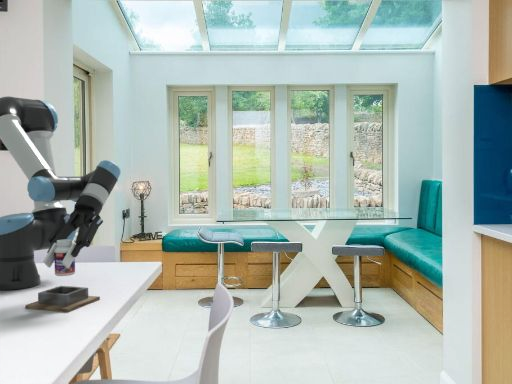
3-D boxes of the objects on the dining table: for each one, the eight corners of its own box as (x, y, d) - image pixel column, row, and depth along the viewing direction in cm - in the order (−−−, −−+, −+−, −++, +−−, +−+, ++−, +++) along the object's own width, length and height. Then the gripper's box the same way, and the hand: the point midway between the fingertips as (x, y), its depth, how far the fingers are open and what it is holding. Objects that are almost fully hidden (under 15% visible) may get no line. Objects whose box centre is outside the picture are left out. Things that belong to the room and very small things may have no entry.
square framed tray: (25, 308, 136) (25, 294, 136) (59, 296, 150) (59, 283, 150) (68, 312, 132) (68, 298, 132) (99, 299, 146) (99, 286, 145)
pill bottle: (53, 277, 137) (52, 241, 137) (56, 273, 142) (55, 239, 142) (74, 275, 138) (73, 240, 138) (76, 272, 144) (75, 238, 143)
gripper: (122, 210, 152) (90, 274, 136) (71, 209, 157) (35, 271, 142) (112, 193, 146) (77, 258, 131) (59, 193, 152) (21, 255, 137)
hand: (55, 264), depth 137 cm, fingers closed on pill bottle, 5 cm apart
